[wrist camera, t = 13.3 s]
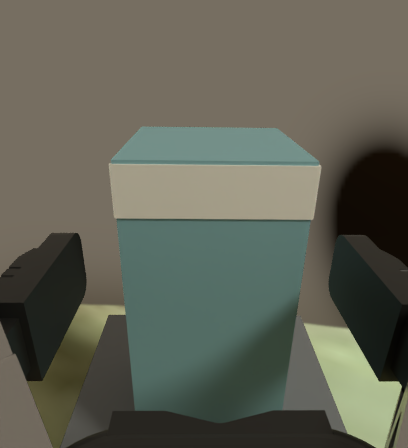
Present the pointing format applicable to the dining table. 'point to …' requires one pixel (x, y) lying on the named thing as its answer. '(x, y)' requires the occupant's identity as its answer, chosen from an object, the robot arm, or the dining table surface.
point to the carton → (212, 265)
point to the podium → (123, 389)
